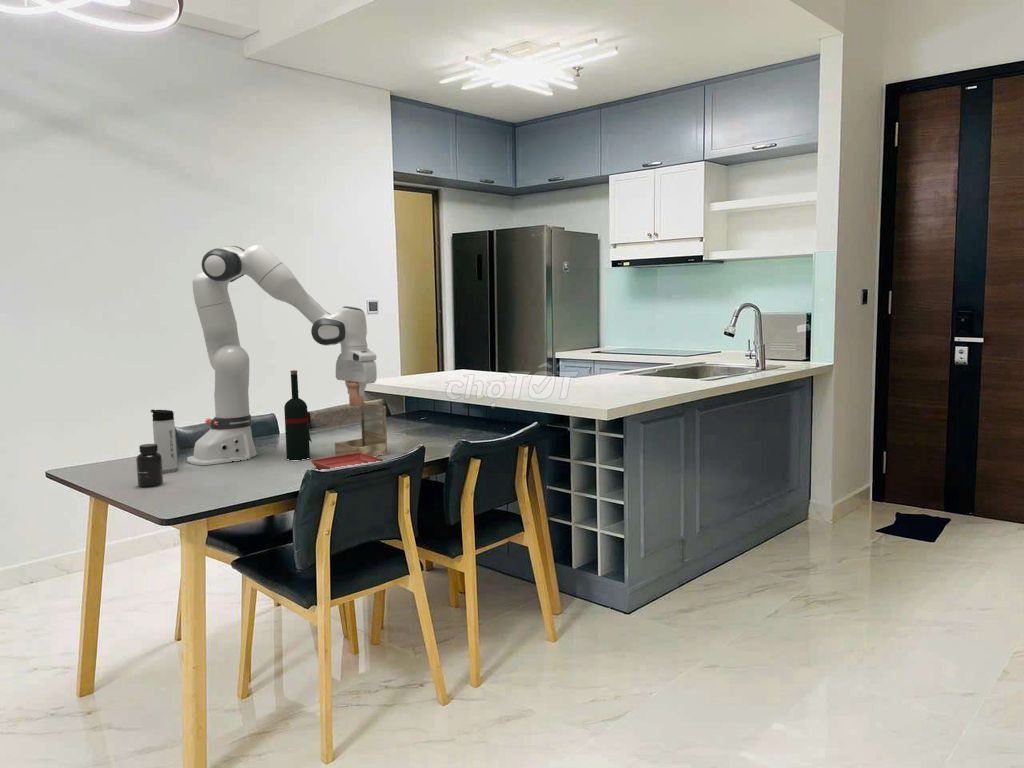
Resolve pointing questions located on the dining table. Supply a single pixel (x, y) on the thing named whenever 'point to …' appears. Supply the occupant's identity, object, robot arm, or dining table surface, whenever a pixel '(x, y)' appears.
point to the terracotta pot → (355, 394)
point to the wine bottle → (296, 424)
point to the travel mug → (165, 438)
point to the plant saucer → (344, 460)
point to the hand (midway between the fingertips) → (356, 394)
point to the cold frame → (368, 433)
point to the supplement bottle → (149, 466)
